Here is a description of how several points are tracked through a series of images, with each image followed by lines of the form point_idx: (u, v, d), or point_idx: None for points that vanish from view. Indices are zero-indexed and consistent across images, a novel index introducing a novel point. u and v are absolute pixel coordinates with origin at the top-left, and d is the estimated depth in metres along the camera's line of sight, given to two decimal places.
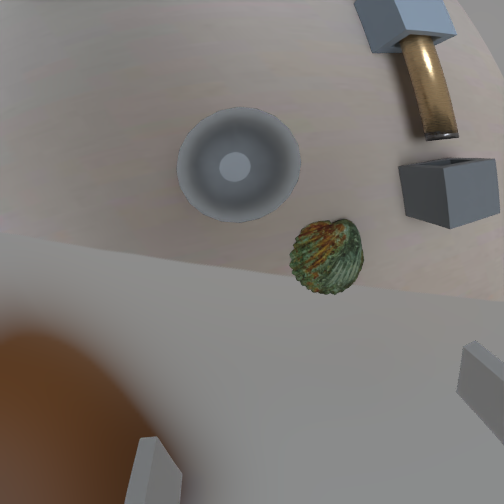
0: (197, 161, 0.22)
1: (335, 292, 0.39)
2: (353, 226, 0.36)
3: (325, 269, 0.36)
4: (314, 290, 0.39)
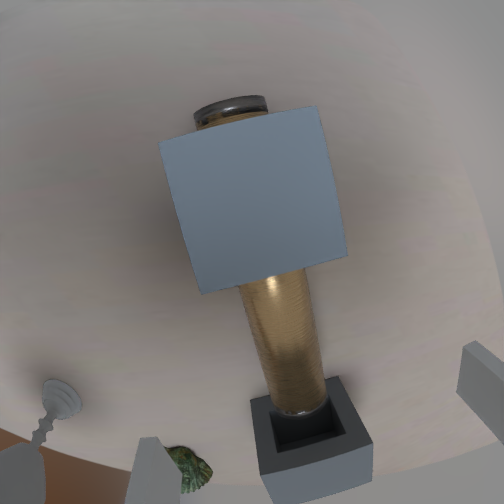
0: None
1: None
2: (183, 463, 0.28)
3: None
4: None
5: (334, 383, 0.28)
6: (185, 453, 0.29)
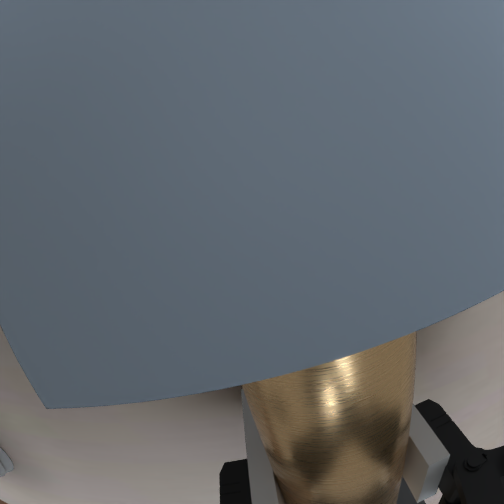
0: None
1: None
2: None
3: None
4: None
5: None
6: None
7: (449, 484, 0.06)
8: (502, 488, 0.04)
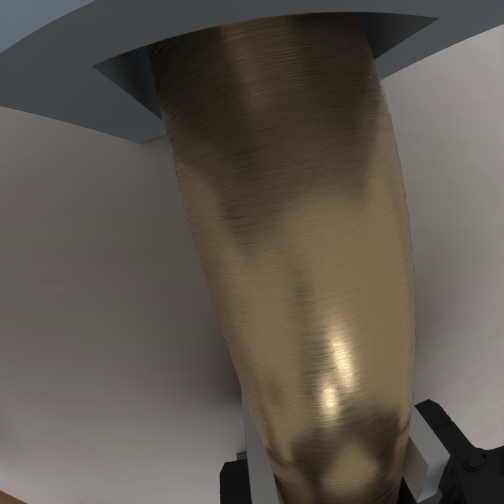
0: None
1: None
2: None
3: None
4: None
5: None
6: None
7: (449, 484, 0.06)
8: (502, 488, 0.04)
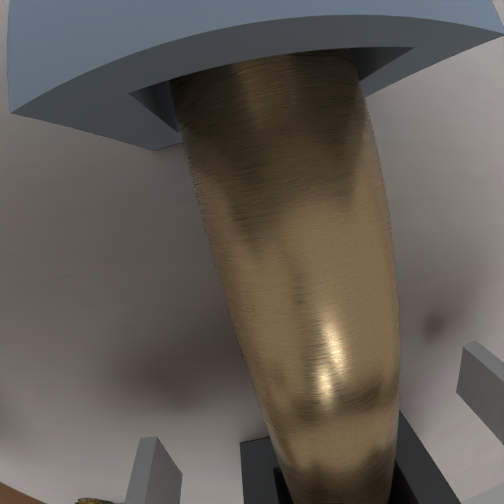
0: None
1: None
2: None
3: None
4: None
5: None
6: None
7: None
8: None
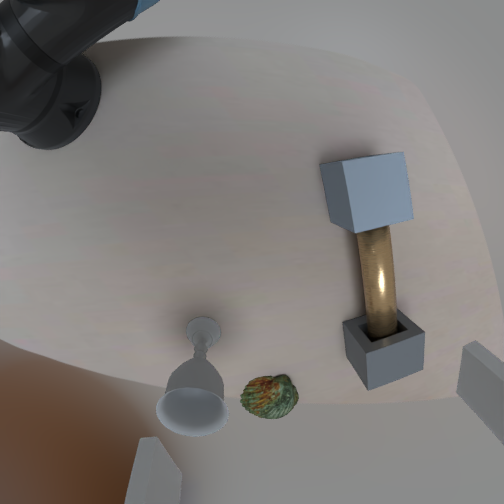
0: None
1: (274, 418, 0.49)
2: (287, 385, 0.46)
3: (264, 411, 0.46)
4: (258, 416, 0.49)
5: None
6: (287, 378, 0.47)
7: None
8: None
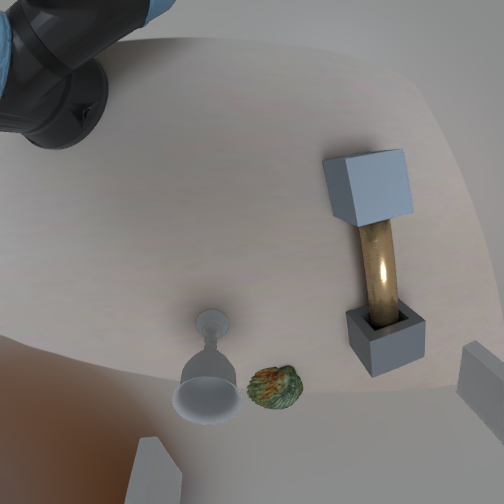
0: None
1: None
2: (292, 376, 0.48)
3: (270, 401, 0.48)
4: None
5: None
6: (292, 369, 0.49)
7: None
8: None
